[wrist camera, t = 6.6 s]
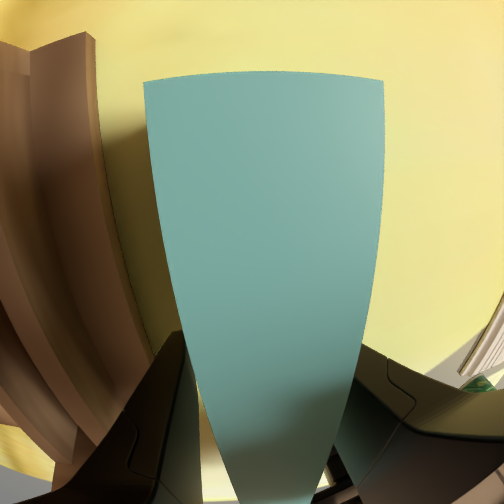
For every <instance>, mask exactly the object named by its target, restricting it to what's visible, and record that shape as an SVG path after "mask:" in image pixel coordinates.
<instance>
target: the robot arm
mask: <svg viewBox="0 0 504 504" xmlns="http://www.w3.org/2000/svg"><path fill="white" fill-rule="evenodd" d="M123 410H124V411H123ZM123 410H122V411H121V413H120V414H119V416H118V418H117V419H116V421H115V422H114V424H113V425H112V427H111V428H110V430H109V431H108V433H107V434H106V436H105V437H104V438H103V439H102V441H101V442H100V443H99V445H98V446H97V447H96V449H95V450H94V451H93V452H92V454H91V455H90V456H89V457H88V459H87V460H86V461H85V462H84V464H83V465H82V466H81V467H80V469H79V470H78V471H77V472H76V474H75V475H74V476H73V477H72V478H71V479H70V480H69V481H68V482H67V483H66V484H65V485H63V486H62V487H61V488H59V489H57V490H55V491H52V492H49V493H46V494H44V495H41V496H38V497H34V498H32V499H28V500H25V501H22V502H18V503H14V504H203V497H202V482H201V463H200V439H199V404H198V392H197V386H196V379H195V374H194V370H193V367H192V363H191V359H190V356H189V352H188V348H187V345H186V341H185V337H184V333H183V330H178V331H173V332H172V333H171V334H170V336H169V337H168V339H167V340H166V342H165V343H164V345H163V346H162V348H161V350H160V351H159V353H158V354H157V356H156V357H155V359H154V360H153V362H152V364H151V365H150V367H149V368H148V370H147V371H146V373H145V375H144V376H143V378H142V379H141V381H140V383H139V384H138V386H137V387H136V389H135V390H134V392H133V394H132V395H131V397H130V398H129V400H128V402H127V403H126V405H125V406H124V408H123ZM324 473H325V476H326V478H327V480H328V483H329V485H330V487H329V488H327V489H325V490H323V491H320V492H318V493H316V494H314V496H313V498H312V500H311V503H310V504H504V389H500V390H495V391H489V392H483V393H472V392H467V391H463V390H460V389H457V388H455V387H452V386H450V385H447V384H444V383H442V382H439V381H437V380H434V379H432V378H430V377H427V376H425V375H422V374H420V373H418V372H416V371H413V370H411V369H409V368H407V367H405V366H403V365H401V364H399V363H397V362H395V361H394V360H392V359H390V358H388V359H387V357H386V356H384V355H382V354H381V353H379V352H377V351H375V350H373V349H371V348H370V347H368V346H366V345H364V344H362V343H361V348H360V352H359V356H358V361H357V365H356V369H355V373H354V377H353V381H352V384H351V388H350V392H349V395H348V399H347V402H346V406H345V409H344V412H343V416H342V419H341V422H340V425H339V428H338V432H337V435H336V438H335V441H334V443H333V446H332V449H331V452H330V455H329V458H328V460H327V463H326V466H325V468H324Z"/></svg>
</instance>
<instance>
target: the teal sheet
mask: <svg viewBox="0 0 504 504" xmlns="http://www.w3.org/2000/svg"><path fill="white" fill-rule="evenodd" d="M143 84H144V98H145V111H146V122H147V132H148V141H149V150H150V158H151V166H152V174H153V181H154V188H155V195H156V201H157V207H158V214H159V219H160V225H161V231H162V237H163V242H164V247H165V252H166V258H167V263H168V268H169V272H170V277H171V282H172V286H173V291H174V295H175V300H176V304H177V308H178V313H179V317H180V321H181V325H182V329H183V333H184V337H185V341H186V345H187V348H188V352H189V356H190V359H191V363H192V367H193V370H194V374H195V377H196V381H197V384H198V387H199V391H200V394H201V397H202V401H203V404H204V407H205V410H206V413H207V416H208V419H209V422H210V425H211V428H212V431H213V434H214V437H215V440H216V443H217V446H218V449H219V451H220V454H221V457H222V460H223V462H224V465H225V468H226V470H227V473H228V476H229V478H230V481H231V483H232V486H233V488H234V491H235V493H236V496H237V498H238V501H239V503H240V504H310V503H311V500H312V498H313V496H314V493H315V491H316V488H317V486H318V484H319V481H320V479H321V476H322V474H323V471H324V468H325V466H326V463H327V460H328V458H329V455H330V452H331V449H332V446H333V443H334V441H335V438H336V435H337V432H338V428H339V425H340V422H341V419H342V416H343V412H344V409H345V406H346V402H347V399H348V395H349V392H350V388H351V384H352V381H353V377H354V373H355V369H356V365H357V361H358V356H359V352H360V348H361V343H362V339H363V334H364V329H365V324H366V319H367V314H368V309H369V303H370V297H371V291H372V285H373V279H374V272H375V265H376V258H377V250H378V241H379V232H380V222H381V211H382V197H383V181H384V154H385V111H384V86H383V81H381V80H375V79H368V78H361V77H353V76H345V75H335V74H324V73H310V72H286V71H250V72H226V73H211V74H200V75H190V76H182V77H174V78H167V79H160V80H154V81H148V82H143Z"/></svg>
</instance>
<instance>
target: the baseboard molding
mask: <svg viewBox="0 0 504 504" xmlns="http://www.w3.org/2000/svg"><path fill="white" fill-rule="evenodd" d="M503 361H504V295H503V298H502V300H501V302H500V304H499V306H498V308H497V310H496V312H495V314H494V316H493V318H492V320H491V322H490V323H489V324H488V325H486V326H485V327H484V328H483V329H482V330H481V332H480V334H479V335H478V337H477V339H476V341H475V342H474V344H473V346H472V347H471V349H470V351H469V352H468V354H467V356H466V357H465V359H464V360H463V362H462V364H461V365H460V367H459V368H458V370H457V372H458V373H459V374H460V376H463V375H468V376H470V377H472V376H474V375H475V374H477V373H481V371H484V370H487V369H488V368H490V367H491V368H492V367H494V366H496V365H498V364H500V363H502V362H503Z"/></svg>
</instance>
